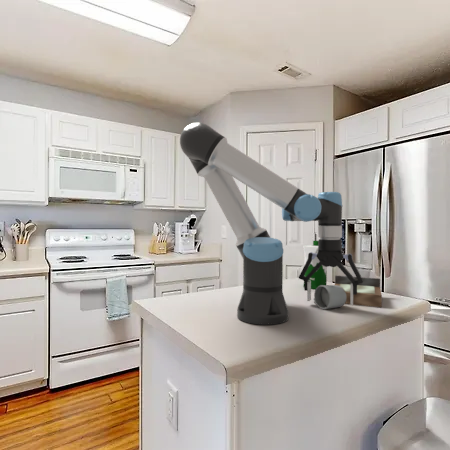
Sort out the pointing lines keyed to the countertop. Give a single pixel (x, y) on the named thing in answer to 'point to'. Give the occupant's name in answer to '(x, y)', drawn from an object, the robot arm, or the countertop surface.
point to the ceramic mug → (329, 296)
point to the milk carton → (321, 273)
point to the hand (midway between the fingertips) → (329, 302)
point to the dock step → (362, 291)
